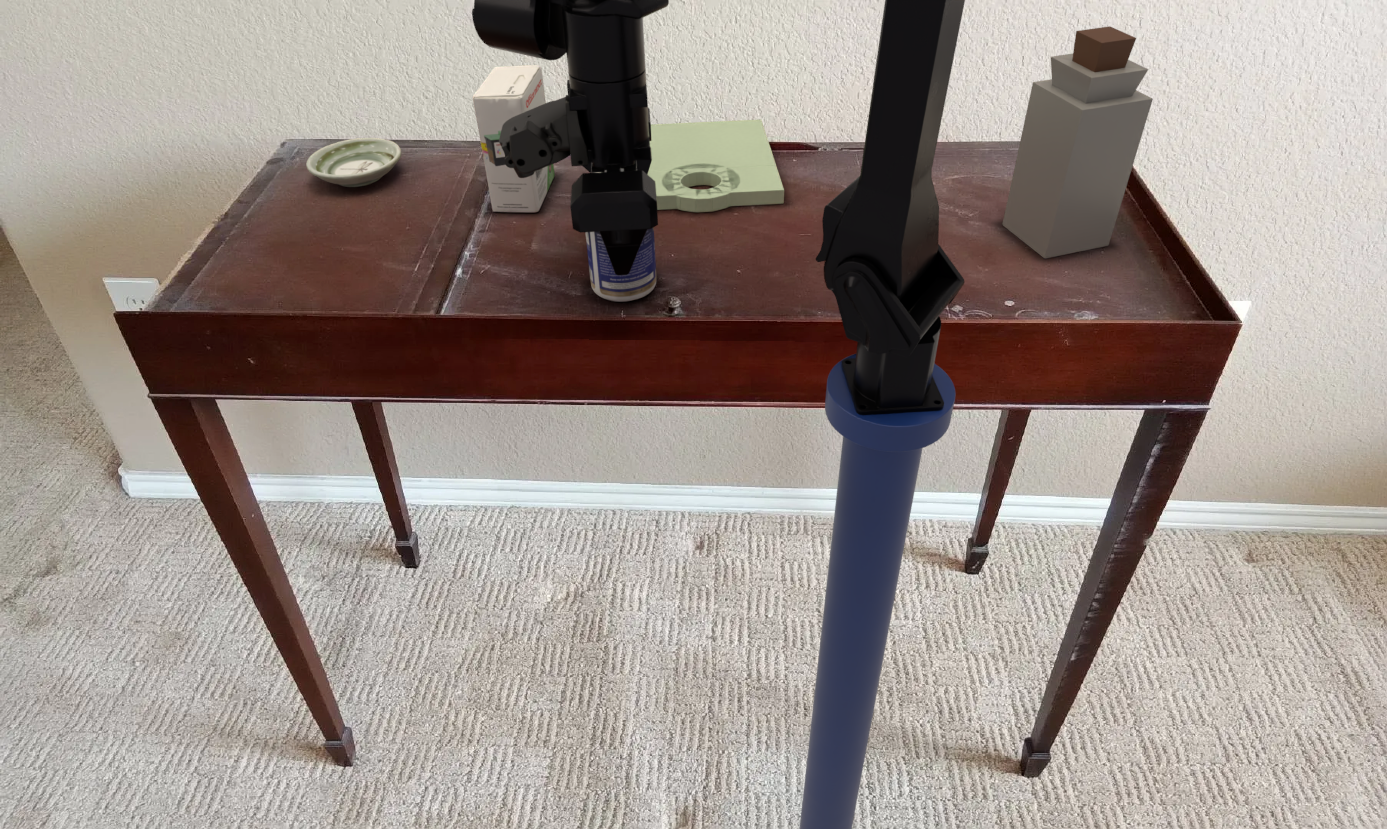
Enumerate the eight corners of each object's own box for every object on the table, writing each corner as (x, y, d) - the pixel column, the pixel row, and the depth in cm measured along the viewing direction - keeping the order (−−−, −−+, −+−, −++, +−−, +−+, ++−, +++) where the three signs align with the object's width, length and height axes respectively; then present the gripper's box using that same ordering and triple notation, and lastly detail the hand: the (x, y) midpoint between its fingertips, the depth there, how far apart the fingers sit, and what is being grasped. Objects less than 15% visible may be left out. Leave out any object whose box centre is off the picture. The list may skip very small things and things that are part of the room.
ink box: (510, 175, 97) (492, 62, 90) (556, 176, 97) (542, 63, 89) (490, 212, 91) (469, 94, 83) (539, 213, 90) (522, 95, 83)
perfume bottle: (1063, 213, 88) (1113, 17, 77) (1108, 245, 83) (1170, 41, 72) (1002, 224, 87) (1044, 27, 75) (1044, 258, 82) (1097, 52, 70)
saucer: (322, 160, 101) (316, 139, 100) (411, 155, 102) (406, 134, 100) (303, 200, 94) (296, 178, 92) (399, 194, 94) (393, 171, 93)
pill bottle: (670, 284, 80) (666, 177, 73) (623, 312, 76) (614, 202, 70) (625, 262, 83) (617, 158, 76) (577, 287, 80) (565, 180, 73)
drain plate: (785, 208, 90) (785, 194, 89) (622, 216, 90) (621, 202, 89) (761, 131, 105) (761, 118, 104) (621, 138, 104) (620, 125, 103)
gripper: (508, 34, 75) (533, 209, 85) (483, 124, 60) (517, 322, 70) (645, 28, 75) (654, 203, 85) (652, 116, 61) (662, 314, 71)
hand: (621, 255), depth 78 cm, fingers closed on pill bottle, 6 cm apart
